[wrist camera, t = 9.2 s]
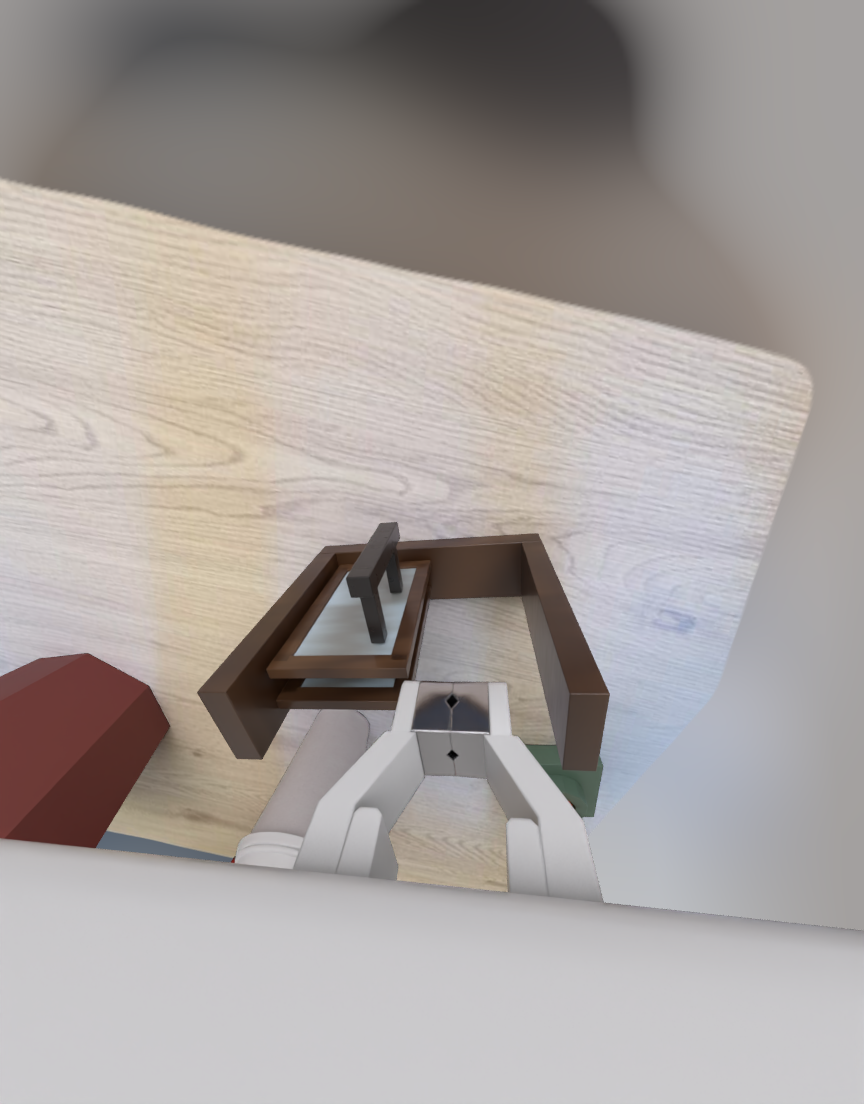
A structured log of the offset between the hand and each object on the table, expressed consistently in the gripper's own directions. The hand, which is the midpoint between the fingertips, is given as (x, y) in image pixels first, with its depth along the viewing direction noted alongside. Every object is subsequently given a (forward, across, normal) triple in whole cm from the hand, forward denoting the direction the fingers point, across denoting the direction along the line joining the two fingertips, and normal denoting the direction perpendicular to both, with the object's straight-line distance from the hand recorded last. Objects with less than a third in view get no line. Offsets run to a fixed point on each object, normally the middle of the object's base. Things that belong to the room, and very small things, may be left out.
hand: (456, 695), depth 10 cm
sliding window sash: (+16, +7, +2) cm, 18 cm away
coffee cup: (+18, +17, +27) cm, 36 cm away
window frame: (+18, +4, +6) cm, 19 cm away
